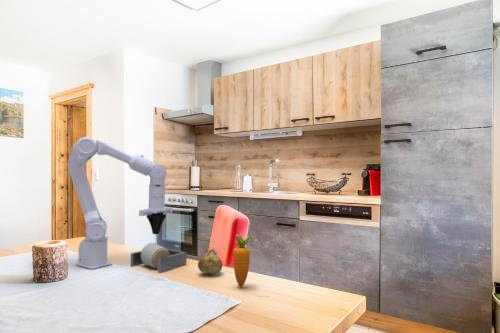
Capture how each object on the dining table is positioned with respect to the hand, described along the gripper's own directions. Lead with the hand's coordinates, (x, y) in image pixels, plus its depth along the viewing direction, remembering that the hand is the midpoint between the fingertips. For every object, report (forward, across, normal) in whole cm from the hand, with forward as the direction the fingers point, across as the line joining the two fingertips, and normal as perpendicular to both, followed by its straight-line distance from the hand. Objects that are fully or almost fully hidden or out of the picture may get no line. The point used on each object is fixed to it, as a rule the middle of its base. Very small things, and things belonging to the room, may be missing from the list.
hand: (155, 233), depth 123 cm
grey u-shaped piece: (+10, -4, -6) cm, 12 cm away
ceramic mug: (+10, -4, -6) cm, 13 cm away
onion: (+10, -2, -27) cm, 29 cm away
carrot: (+10, -7, -42) cm, 44 cm away
